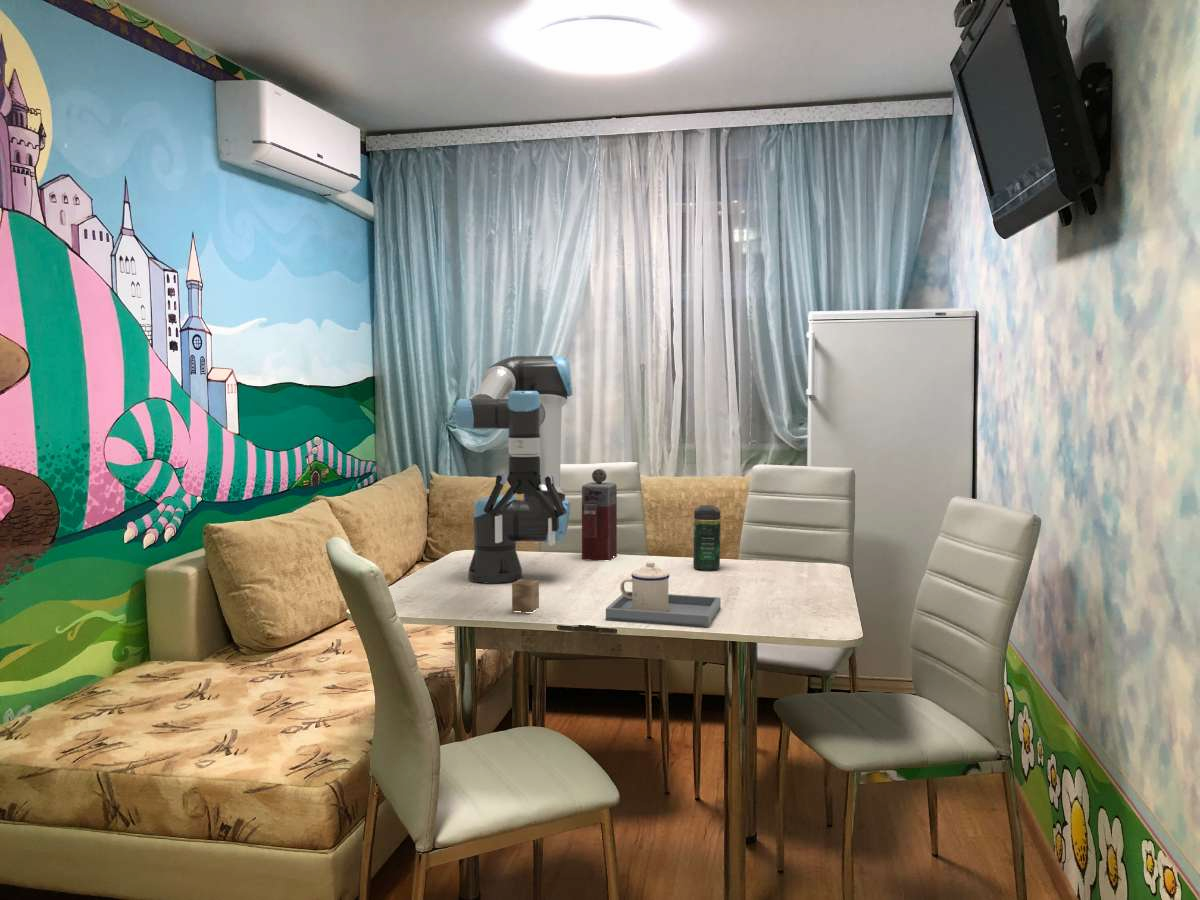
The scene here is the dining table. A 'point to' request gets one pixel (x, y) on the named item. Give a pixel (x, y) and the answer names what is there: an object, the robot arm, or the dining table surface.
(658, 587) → the teacup with lid
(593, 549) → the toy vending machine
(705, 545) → the coffee jar
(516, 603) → the walnut block
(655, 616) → the tray
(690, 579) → the dining table surface
